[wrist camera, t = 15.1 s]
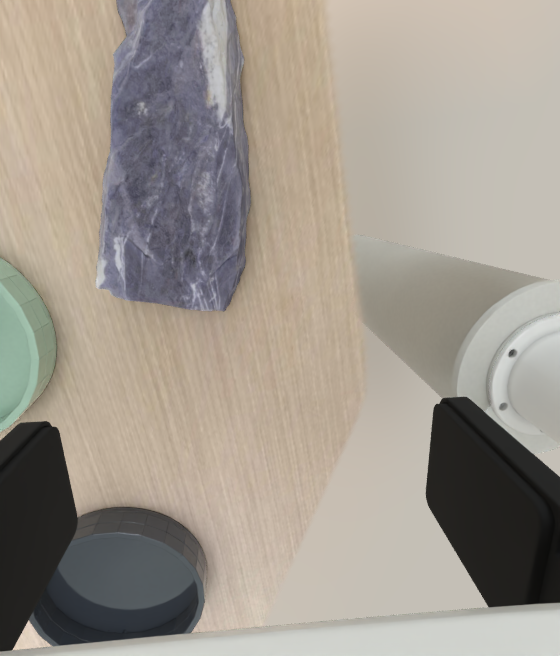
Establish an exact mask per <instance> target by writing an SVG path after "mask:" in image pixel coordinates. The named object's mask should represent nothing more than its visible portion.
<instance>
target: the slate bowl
mask: <svg viewBox="0 0 560 656" xmlns="http://www.w3.org/2000/svg"><path fill="white" fill-rule="evenodd" d="M206 574H207V565H206V559H205V556H204V553H203V550H202V548H201V546H200V544H199V543H198V541H197V540H196V538H195V537H194V536H193V535H192V534H191V533H190V532H189V531H188V530H187V529H186V528H185V527H184V526H182V525H181V524H180V523H178V522H176V521H175V520H173V519H171V518H169V517H167V516H165V515H162V514H160V513H157V512H154V511H150V510H145V509H140V508H130V507H118V508H108V509H102V510H98V511H94V512H91V513H88V514H85V515H83V516H81V517H79V518H78V525H77V530H76V533H75V535H74V537H73V539H72V541H71V543H70V545H69V546H68V548H67V550H66V552H65V554H64V556H63V557H62V559H61V561H60V563H59V565H58V567H57V568H56V570H55V572H54V574H53V576H52V578H51V580H50V581H49V583H48V585H47V587H46V589H45V591H44V592H43V594H42V596H41V598H40V600H39V602H38V604H37V605H36V607H35V609H34V611H33V613H32V615H31V616H30V618H29V621H30V622H31V624H32V625H33V627H34V628H35V630H36V631H37V633H38V634H39V636H41V637H42V638H43V639H44V640H45V641H47V642H48V643H49V644H50V645H51V646H63V645H73V644H84V643H94V642H104V641H114V640H125V639H135V638H145V637H155V636H166V635H177V634H188V633H191V632H192V630H193V629H194V627H195V626H196V624H197V623H198V621H199V620H200V618H201V614H202V610H203V607H204V603H205V593H206V581H207V575H206Z"/></svg>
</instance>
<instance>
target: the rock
mask: <svg viewBox="0 0 560 656" xmlns="http://www.w3.org/2000/svg"><path fill="white" fill-rule="evenodd" d="M116 2H117V7H118V12H119V15H120V17H121V19H122V22H123V24H124V27H125V31H126V35H127V37H126V38H125V39H124V41H123V42H122V43H121V45H120V46H119V47H118V49H117V50H116V51H115V53H114V54H113V56H114V63H115V67H114V75H113V86H112V94H111V147H110V153H109V157H108V160H107V166H106V169H105V172H104V178H103V195H102V202H103V206H102V213H101V225H100V231H99V236H100V247H99V255H98V263H97V266H96V269H97V278H96V288H98V289H106V290H109V291H110V293H111V295H113V296H115V297H117V298H121V299H124V300H130V301H140V302H150V303H158V304H164V305H169V306H175V307H180V308H185V309H190V310H203V311H213V310H219V311H225V310H226V308H227V306H229V304H230V302H231V299H232V296H233V294H234V292H235V290H236V287H237V285H238V283H239V281H240V276H241V274H242V271H243V269H244V268H245V263H246V259H245V244H246V221H247V216H248V213H249V210H250V204H251V196H250V188H249V181H248V177H249V166H248V139H247V135H246V131H245V128H244V123H243V104H242V98H241V86H240V76H241V72H242V68H243V65H244V57H243V54H242V50H241V47H240V41H239V35H238V31H237V26H236V16H235V13H234V11H233V8H232V5H231V2H230V0H116Z"/></svg>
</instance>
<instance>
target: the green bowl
mask: <svg viewBox="0 0 560 656" xmlns="http://www.w3.org/2000/svg"><path fill="white" fill-rule="evenodd" d="M56 349H57V344H56V336H55V330H54V327H53V323H52V320H51V317H50V315H49V312H48V310H47V308H46V306H45V304H44V302H43V301H42V299H41V297H40V296H39V294H38V293H37V292H36V290H35V289H34V287H33V286H32V285H31V284H30V283H29V282H28V280H27V279H26V278H25V277H24V276H23V275H22V274H21V273H20V272H19V271H17V270H16V269H15V268H14V267H13V266H12V265H10V264H9V263H8V262H6V261H5V260H3V259H2V258H0V432H1V431H3V430H5V429H6V428H8V427H9V426H11V425H12V424H13V423H14V422H15V421H16V420H17V419H18V418H19V417H20V416H21V415H22V414H23V413H24V412H25V411H27V410H28V408H29V407H30V406H31V405H32V404H33V403H34V402H35V401H36V400H37V399H38V398H39V396H40V395H41V394H42V393H43V391H44V390H45V388H46V387H47V385H48V383H49V381H50V379H51V376H52V373H53V371H54V367H55V361H56Z"/></svg>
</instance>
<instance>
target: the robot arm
mask: <svg viewBox="0 0 560 656" xmlns="http://www.w3.org/2000/svg"><path fill="white" fill-rule="evenodd" d="M486 387H487V397H488V401H489V404H490V406H491V408H492V410H493V412H494V413H495V414H496V415H497V417H498V418H499V419H500V420H501V421H503V422H504V423H505V424H506V425H508V426H509V427H510V428H512V429H514V430H516V431H518V432H521V433H525V434H529V435H545V434H546V435H548V436H549V437H551V438H552V439H553V440H555V441H556V442H557V443H559V444H560V313H551V314H547V315H544V316H540V317H538V318H535V319H533V320H531V321H529V322H527V323H526V324H524V325H523V326H521V327H520V328H518V329H517V330H516V331H514V332H513V333H512V334H511V335H510V336H509V337H508V338H507V339H506V340H505V341H504V343H503V344H502V345H501V347H500V348H499V349H498V351H497V353H496V354H495V356H494V358H493V360H492V362H491V365H490V368H489V371H488V376H487V382H486ZM426 499H427V503H428V506H429V508H430V510H431V511H432V513H433V515H434V516H435V518H436V520H437V521H438V523H439V525H440V527H441V528H442V530H443V531H444V533H445V535H446V537H447V538H448V540H449V542H450V543H451V545H452V547H453V548H454V550H455V551H456V553H457V555H458V556H459V558H460V560H461V562H462V563H463V565H464V566H465V568H466V570H467V572H468V573H469V575H470V577H471V578H472V580H473V582H474V583H475V585H476V587H477V588H478V590H479V592H480V593H481V595H482V597H483V598H484V600H485V602H486V603H487V605H488V608H474V609H461V610H450V611H437V612H426V613H414V614H402V615H390V616H378V617H366V618H355V619H343V620H332V621H320V622H310V623H299V624H287V625H276V626H264V627H253V628H242V629H231V630H221V631H210V632H199V633H188V634H177V635H166V636H155V637H145V638H135V639H125V640H114V641H104V642H94V643H84V644H73V645H63V646H53V647H43V648H32V649H22V650H13V648H14V646H15V644H16V642H17V640H18V639H19V637H20V635H21V633H22V631H23V629H24V627H25V626H26V624H27V622H28V620H29V618H30V616H31V615H32V613H33V611H34V609H35V607H36V605H37V604H38V602H39V600H40V598H41V596H42V594H43V592H44V591H45V589H46V587H47V585H48V583H49V581H50V580H51V578H52V576H53V574H54V572H55V570H56V568H57V567H58V565H59V563H60V561H61V559H62V557H63V556H64V554H65V552H66V550H67V548H68V546H69V545H70V543H71V541H72V539H73V537H74V535H75V533H76V530H77V525H78V518H77V513H76V508H75V503H74V498H73V494H72V489H71V484H70V480H69V475H68V470H67V466H66V461H65V456H64V452H63V447H62V442H61V438H60V433H59V430H58V429H57V428H56V427H52V426H51V424H50V423H49V422H47V421H43V422H26V423H20V424H18V425H17V426H16V427H15V428H14V429H13V430H12V431H11V432H9V433H8V434H7V435H6V436H5V437H4V438H3V439H2V440H1V441H0V656H560V477H559V476H558V475H557V474H556V473H554V472H553V471H552V470H551V469H550V468H549V467H548V466H546V465H545V464H544V463H543V462H542V461H540V460H539V459H538V458H537V457H536V456H535V455H534V454H533V453H531V452H530V451H529V450H528V449H527V448H526V447H524V446H523V445H522V444H521V443H520V442H519V441H518V440H516V439H515V438H514V437H513V436H512V435H511V434H509V433H508V432H507V431H506V430H505V429H504V428H503V427H501V426H500V425H499V424H498V423H497V422H496V421H494V420H493V419H492V418H491V417H490V416H489V415H487V414H486V413H485V412H484V411H483V410H482V409H481V408H479V407H478V406H477V405H476V404H475V403H474V402H472V401H471V400H470V399H469V398H467V397H453V398H443V399H442V400H441V402H440V404H436V405H435V407H434V411H433V421H432V432H431V442H430V453H429V465H428V474H427V485H426Z"/></svg>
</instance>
